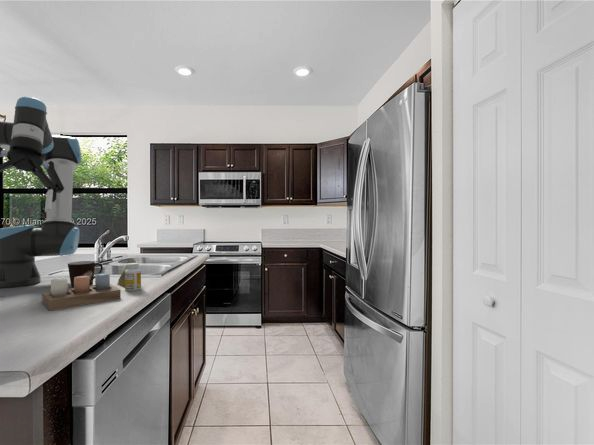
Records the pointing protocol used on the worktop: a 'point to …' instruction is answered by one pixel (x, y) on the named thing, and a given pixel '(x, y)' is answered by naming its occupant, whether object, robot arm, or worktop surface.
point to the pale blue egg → (102, 281)
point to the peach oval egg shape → (81, 284)
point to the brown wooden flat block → (80, 297)
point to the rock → (122, 277)
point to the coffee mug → (82, 270)
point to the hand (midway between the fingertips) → (19, 205)
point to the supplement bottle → (132, 277)
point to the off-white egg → (59, 287)
